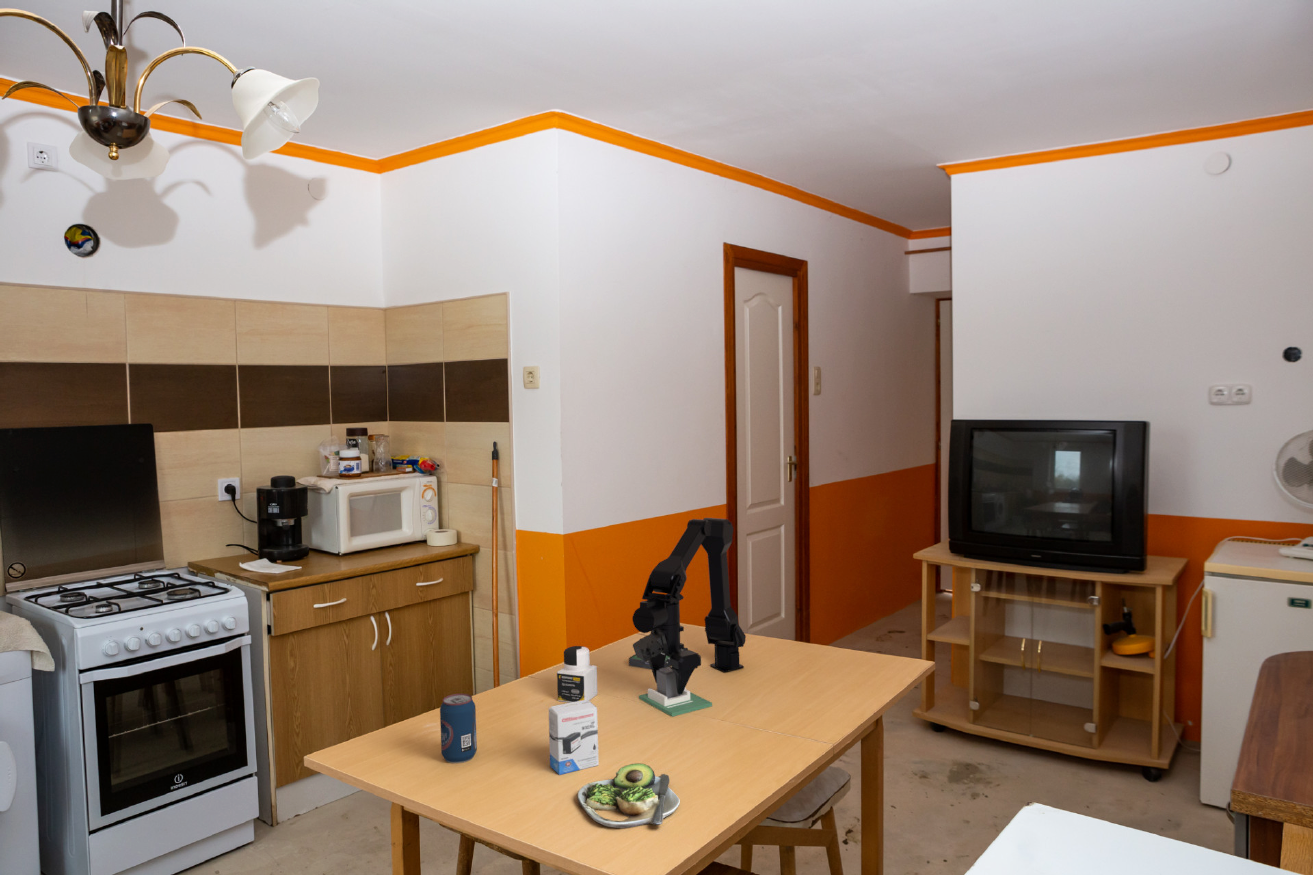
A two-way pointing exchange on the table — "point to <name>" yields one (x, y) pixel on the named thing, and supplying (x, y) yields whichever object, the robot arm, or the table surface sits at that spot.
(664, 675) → the plug
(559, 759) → the ink box
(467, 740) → the soda can
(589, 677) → the medicine bottle
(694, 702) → the board
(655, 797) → the avocado toast plate
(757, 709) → the table surface
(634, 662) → the disk drive
